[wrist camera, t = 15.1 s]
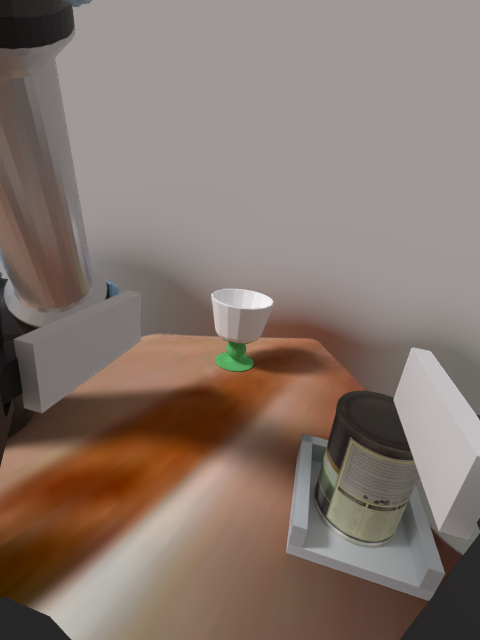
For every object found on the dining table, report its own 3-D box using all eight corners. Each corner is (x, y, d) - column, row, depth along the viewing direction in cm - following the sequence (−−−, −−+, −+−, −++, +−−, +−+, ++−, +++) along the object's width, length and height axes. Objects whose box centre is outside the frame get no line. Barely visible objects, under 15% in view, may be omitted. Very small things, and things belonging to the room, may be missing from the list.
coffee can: (296, 488, 42) (318, 399, 37) (351, 465, 47) (377, 383, 42) (356, 565, 34) (395, 464, 29) (415, 527, 39) (457, 435, 34)
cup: (271, 359, 79) (282, 298, 73) (248, 384, 67) (259, 314, 61) (223, 343, 84) (229, 285, 78) (193, 364, 72) (198, 297, 66)
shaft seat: (429, 601, 33) (453, 557, 31) (286, 552, 36) (297, 509, 33) (388, 444, 55) (400, 411, 52) (301, 421, 58) (308, 389, 55)
